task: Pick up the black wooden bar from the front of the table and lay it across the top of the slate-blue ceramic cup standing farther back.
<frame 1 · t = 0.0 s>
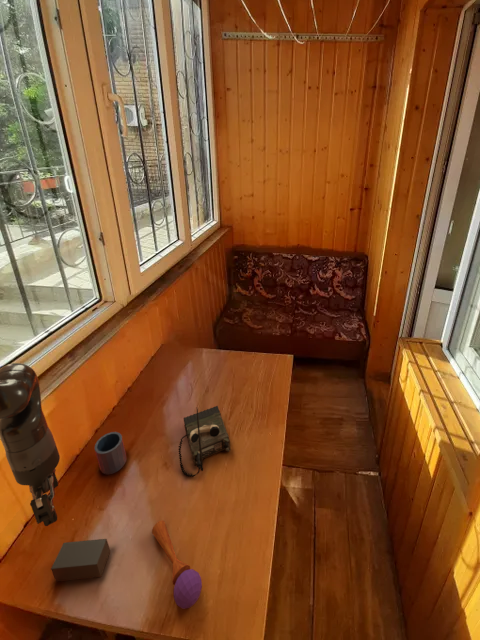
hand: (52, 504, 70), 19 cm above the table, tool pointing down, fingers open, 8 cm apart
cup: (113, 462, 99), on the table
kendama: (175, 566, 75), on the table
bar: (84, 565, 75), on the table
radio: (204, 451, 103), on the table
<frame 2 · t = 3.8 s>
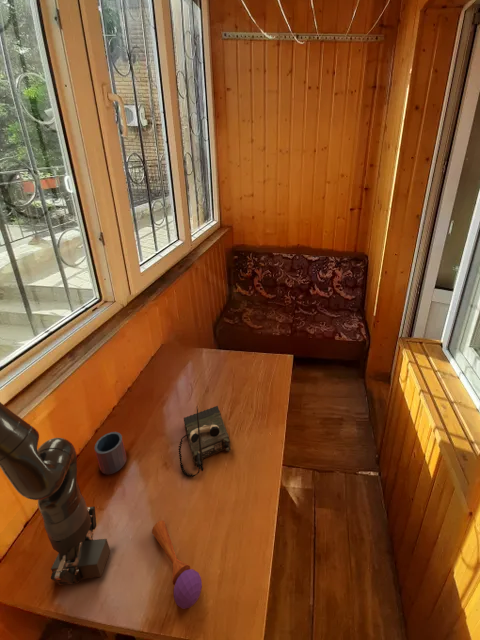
hand: (83, 564, 75), 1 cm above the table, tool pointing down, fingers closed on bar, 5 cm apart
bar: (84, 565, 75), on the table, touching gripper
everything else where it was.
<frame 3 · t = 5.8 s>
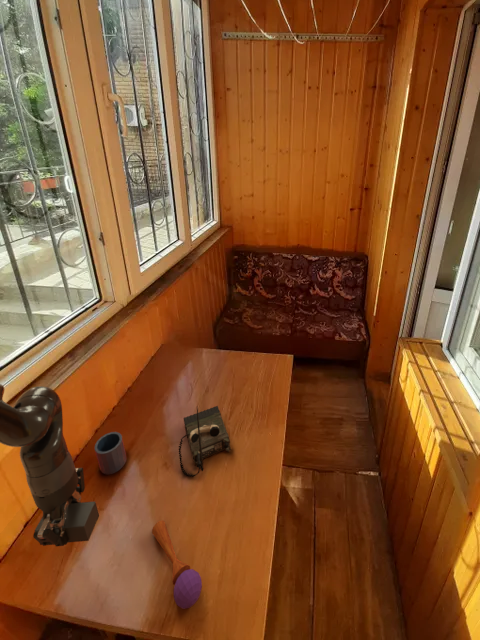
hand: (70, 528, 70), 14 cm above the table, tool pointing down, fingers closed on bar, 5 cm apart
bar: (71, 529, 70), point 14 cm above the table, touching gripper
everything else where it was.
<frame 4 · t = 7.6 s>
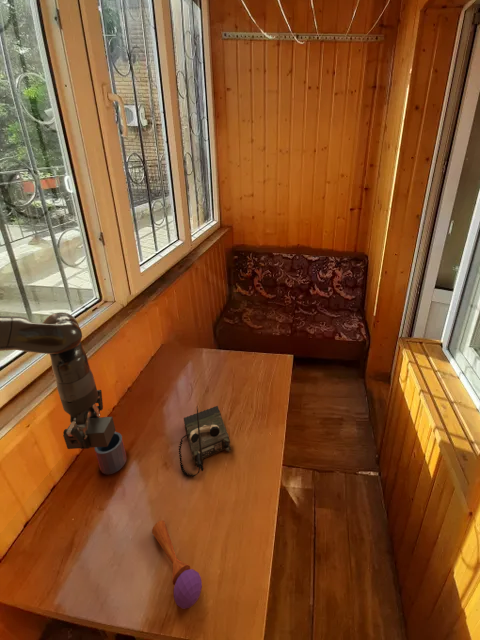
hand: (91, 437, 83), 22 cm above the table, tool pointing down, fingers closed on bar, 5 cm apart
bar: (92, 439, 83), point 21 cm above the table, touching gripper
everything else where it was.
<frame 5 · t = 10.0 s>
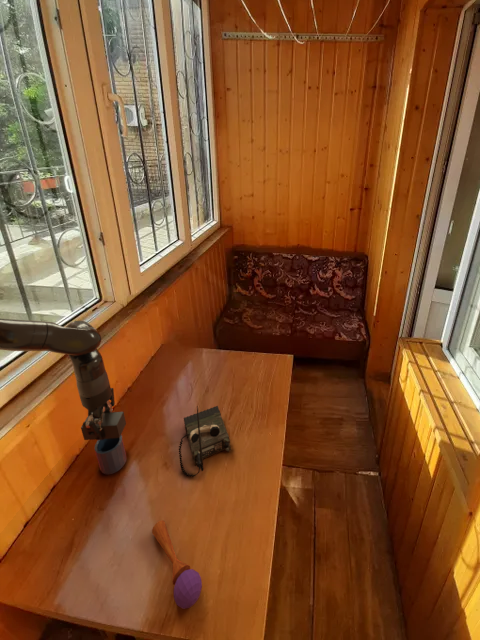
hand: (105, 430, 94), 14 cm above the table, tool pointing down, fingers closed on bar, 5 cm apart
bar: (105, 431, 94), point 13 cm above the table, touching gripper
everything else where it was.
when the fingers open (10 cm above the table, at t = 11.6 s): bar stays where it is, resting on cup.
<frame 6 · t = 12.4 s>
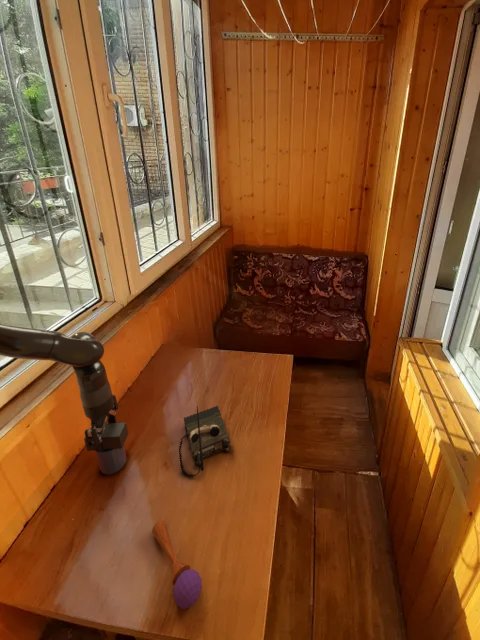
hand: (107, 437, 95), 11 cm above the table, tool pointing down, fingers open, 8 cm apart
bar: (108, 442, 96), point 9 cm above the table, touching cup
everything else where it was.
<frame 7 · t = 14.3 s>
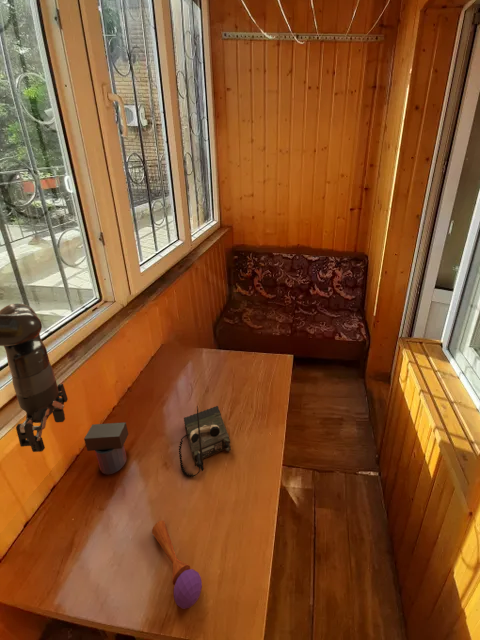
hand: (50, 435, 79), 26 cm above the table, tool pointing down, fingers open, 8 cm apart
nothing on the table moved.
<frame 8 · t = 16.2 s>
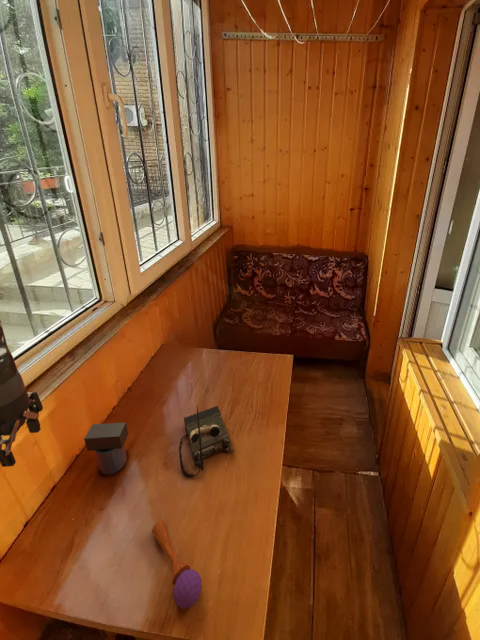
hand: (23, 447, 73), 28 cm above the table, tool pointing down, fingers open, 8 cm apart
nothing on the table moved.
at the end: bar 0.0 cm off-centre on the cup, point 9.0 cm above the cup's base; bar touching cup; the gripper is holding nothing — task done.
